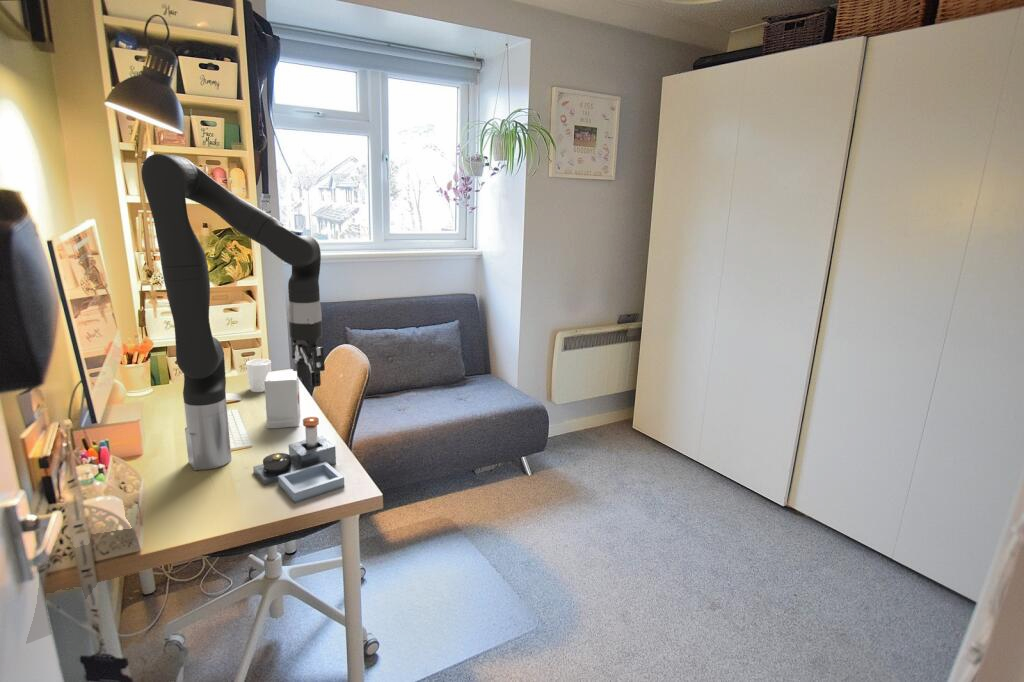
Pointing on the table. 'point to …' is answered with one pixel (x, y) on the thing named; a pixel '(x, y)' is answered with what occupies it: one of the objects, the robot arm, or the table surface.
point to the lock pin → (311, 432)
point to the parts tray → (310, 481)
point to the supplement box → (282, 399)
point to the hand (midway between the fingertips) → (308, 381)
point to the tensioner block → (295, 460)
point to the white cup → (258, 373)
